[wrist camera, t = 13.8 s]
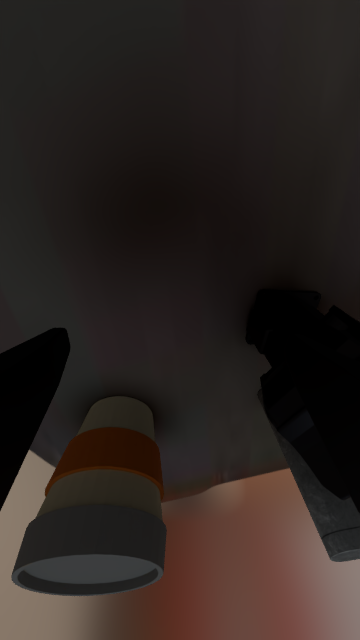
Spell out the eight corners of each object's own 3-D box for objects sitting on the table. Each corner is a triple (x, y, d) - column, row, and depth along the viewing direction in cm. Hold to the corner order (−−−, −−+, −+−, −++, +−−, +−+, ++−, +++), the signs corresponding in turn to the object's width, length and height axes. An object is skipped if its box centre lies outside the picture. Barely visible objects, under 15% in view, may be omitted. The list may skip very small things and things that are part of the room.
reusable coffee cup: (166, 385, 29) (167, 547, 16) (165, 442, 35) (166, 590, 22) (65, 387, 28) (-22, 560, 15) (83, 445, 34) (34, 601, 21)
